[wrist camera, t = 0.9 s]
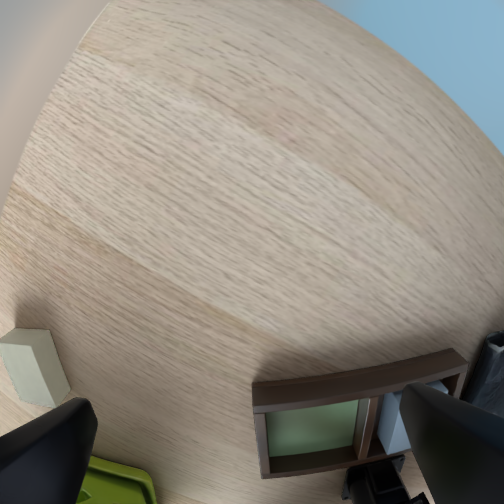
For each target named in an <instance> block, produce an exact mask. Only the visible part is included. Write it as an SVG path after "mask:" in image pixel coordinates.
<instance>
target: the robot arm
mask: <svg viewBox="0 0 504 504" xmlns="http://www.w3.org/2000/svg"><path fill="white" fill-rule="evenodd" d="M399 412H400V415H401V418H402V421H403V424H404V427H405V430H406V433H407V436H408V439H409V443H410V446H411V449H412V452H413V454H414V456H415V459H416V461H417V463H418V465H419V468H420V470H421V472H422V474H423V477H424V479H425V481H426V483H427V486H428V488H429V490H430V492H431V495H432V497H433V499H434V502H435V504H504V418H503V417H500V416H498V415H495V414H493V413H491V412H488V411H486V410H483V409H481V408H479V407H476V406H474V405H472V404H469V403H467V402H465V401H462V400H460V399H458V398H455V397H453V396H451V395H449V394H446V393H444V392H442V391H440V390H437V389H435V388H433V387H431V386H428V385H426V384H424V383H422V382H419V381H415V382H411V383H407V384H405V386H404V388H403V392H402V396H401V400H400V404H399ZM97 427H98V421H97V418H96V415H95V413H94V410H93V408H92V405H91V403H90V401H89V400H88V399H86V398H79V397H75V398H73V399H71V400H70V401H68V402H66V403H64V404H62V405H60V406H58V407H57V408H55V409H53V410H51V411H49V412H47V413H45V414H44V415H42V416H40V417H38V418H36V419H34V420H32V421H30V422H28V423H26V424H24V425H23V426H21V427H19V428H17V429H15V430H13V431H11V432H9V433H7V434H5V435H3V436H1V437H0V504H76V502H77V499H78V495H79V492H80V489H81V486H82V483H83V480H84V477H85V475H86V472H87V468H88V465H89V461H90V457H91V453H92V448H93V444H94V440H95V435H96V431H97ZM405 459H406V457H405V455H404V454H401V455H398V456H394V457H391V458H387V459H384V460H380V461H376V462H372V463H368V464H364V465H359V466H355V467H351V468H349V469H348V470H347V472H346V477H345V481H344V486H343V491H342V495H341V498H342V500H348V499H351V500H352V503H353V504H430V503H429V501H428V499H427V498H426V496H425V494H424V492H422V493H420V494H419V495H418V496H416V497H414V498H412V499H411V497H410V495H409V493H408V491H407V489H406V487H405V485H404V482H403V480H402V478H401V476H400V472H401V469H402V467H403V464H404V461H405Z"/></svg>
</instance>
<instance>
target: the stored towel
mask: <svg viewBox="0 0 504 504" xmlns="http://www.w3.org/2000/svg"><path fill="white" fill-rule="evenodd" d="M426 385H428V386H431V387H433V388H435V389H437V390H440V391H442V392H444V393H446V394H448V390H447V389H446V387H445V386H444V385H443V384H442V383H441V382H440V381H439V380H436V381H433V382H429V383H426ZM402 392H403V390H400V391H395V392H391V393H387V394H385V395H384V400H383V406H382V411H381V416H380V421H379V425H378V430H377V435H378V437H379V439H380V441H381V443H382V445H383V447H384V450H385V452H386V454H387V455H389V454H392V453H396V452H399V451H403V450H406V449H409V448H411V446H410V443H409V439H408V436H407V433H406V430H405V427H404V424H403V421H402V418H401V415H400V412H399V404H400V400H401V396H402Z"/></svg>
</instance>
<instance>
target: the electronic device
mask: <svg viewBox="0 0 504 504" xmlns="http://www.w3.org/2000/svg"><path fill="white" fill-rule="evenodd" d="M462 401H465V402H467V403H469V404H472V405H474V406H476V407H479V408H481V409H483V410H486V411H488V412H491V413H493V414H495V415H498V416H500V417H503V418H504V331H499V332H494V333H491V334H489V335H488V336H487V338H486V341H485V344H484V347H483V351H482V354H481V356H480V358H479V361H478V363H477V366H476V368H475V371H474V375H473V377H472V379H471V381H470V383H469V385H468V388H467V391H466V393H465V395H464V398H463V400H462Z"/></svg>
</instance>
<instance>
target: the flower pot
mask: <svg viewBox="0 0 504 504" xmlns="http://www.w3.org/2000/svg"><path fill="white" fill-rule="evenodd" d="M76 504H157V500H156V495H155V491H154V486H153V483H152V479H151V477H150V476H149V474H148V473H147V472H145V471H144V470H141V469H139V468H133V467H129V466H125V465H122V464H118V463H114V462H111V461H107V460H104V459H100V458H97V457H94V456H91V457H90V461H89V465H88V468H87V472H86V475H85V477H84V480H83V483H82V486H81V489H80V492H79V495H78V499H77V502H76Z"/></svg>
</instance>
